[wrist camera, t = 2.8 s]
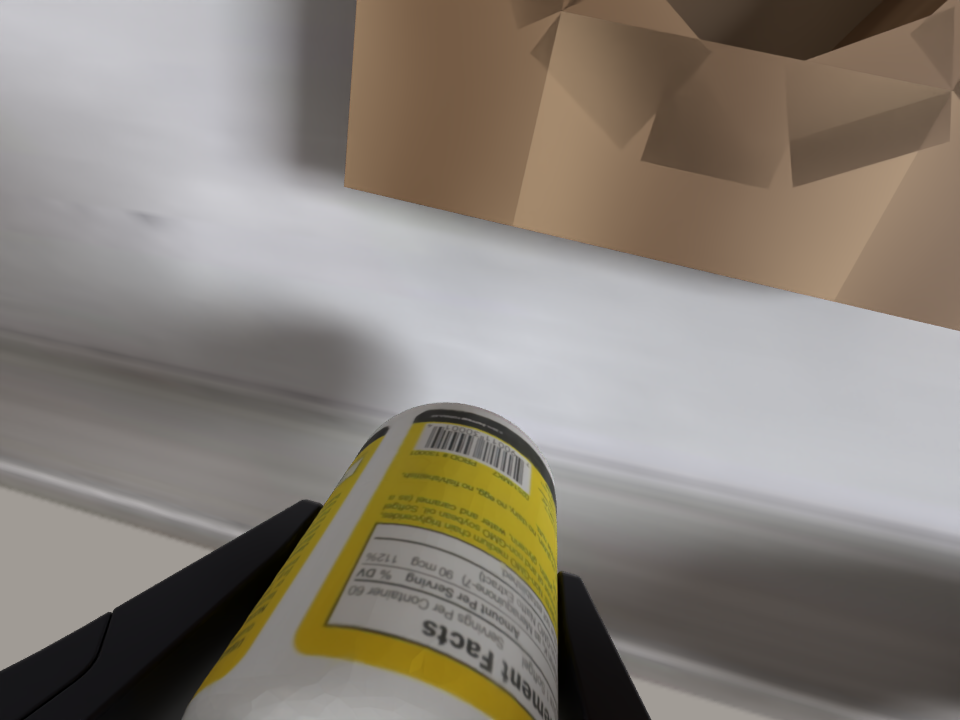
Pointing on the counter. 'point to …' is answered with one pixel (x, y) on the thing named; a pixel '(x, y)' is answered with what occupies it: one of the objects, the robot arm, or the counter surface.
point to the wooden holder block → (683, 133)
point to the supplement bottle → (411, 587)
